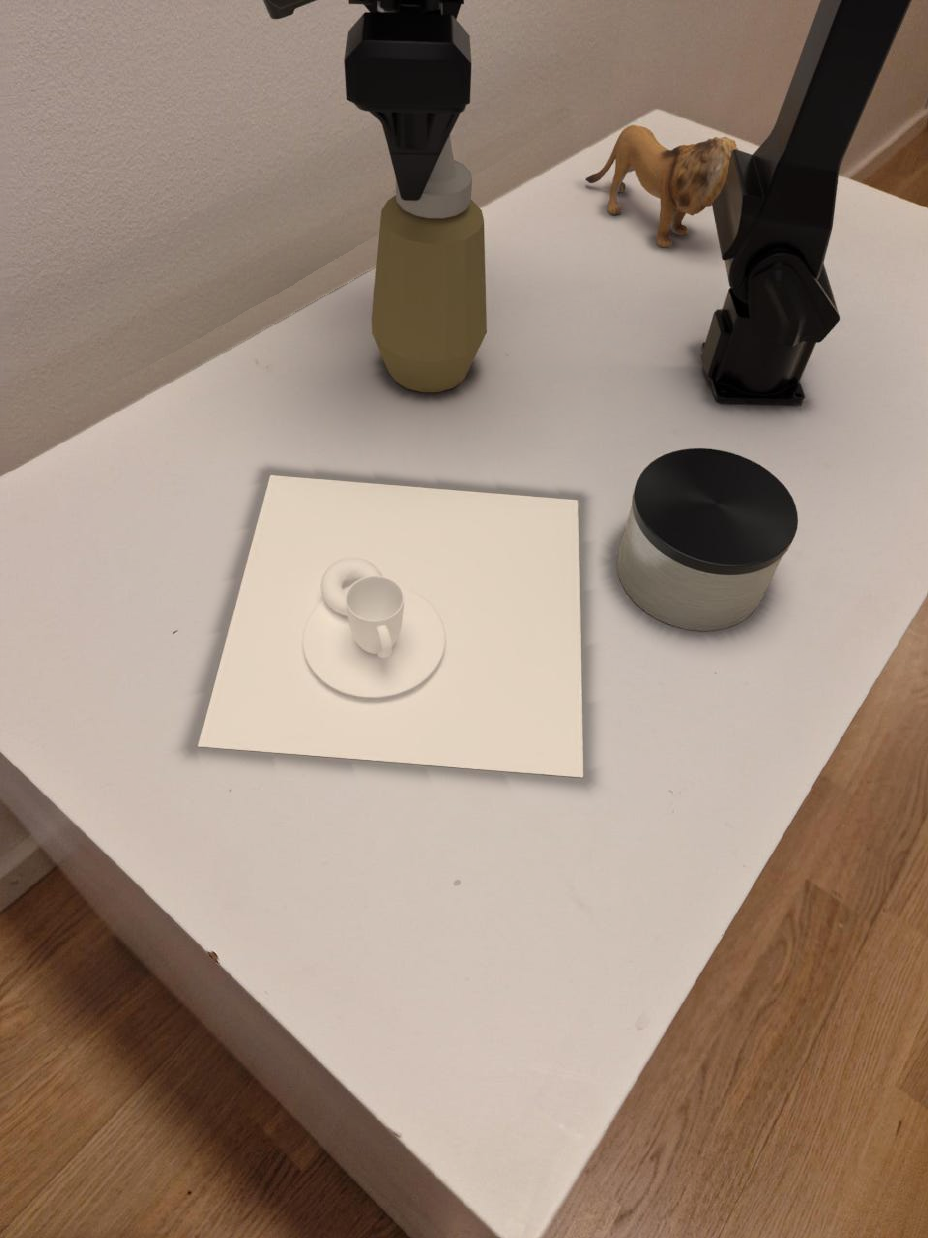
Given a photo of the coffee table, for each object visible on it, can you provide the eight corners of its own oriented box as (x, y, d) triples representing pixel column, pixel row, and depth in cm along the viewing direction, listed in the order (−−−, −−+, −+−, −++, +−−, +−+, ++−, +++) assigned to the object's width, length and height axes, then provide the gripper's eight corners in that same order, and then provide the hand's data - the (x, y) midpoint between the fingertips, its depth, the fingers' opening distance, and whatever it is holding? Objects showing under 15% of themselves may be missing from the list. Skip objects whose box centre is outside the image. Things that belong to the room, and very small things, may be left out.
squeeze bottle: (487, 340, 70) (510, 87, 56) (478, 411, 65) (501, 152, 51) (381, 329, 70) (376, 72, 56) (363, 398, 65) (353, 136, 51)
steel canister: (747, 518, 60) (776, 448, 55) (780, 633, 55) (817, 567, 50) (606, 516, 59) (624, 445, 55) (626, 632, 54) (648, 565, 49)
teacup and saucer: (317, 571, 55) (312, 525, 52) (450, 582, 55) (453, 536, 52) (292, 696, 50) (284, 652, 47) (439, 708, 50) (442, 665, 47)
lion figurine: (732, 245, 80) (765, 139, 72) (694, 268, 77) (724, 160, 70) (602, 176, 85) (621, 71, 78) (564, 195, 83) (579, 89, 76)
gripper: (262, -216, 50) (293, 88, 63) (215, -103, 39) (264, 240, 52) (466, -207, 51) (457, 93, 63) (478, -93, 40) (464, 244, 52)
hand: (411, 160), depth 58 cm, fingers open, 9 cm apart
